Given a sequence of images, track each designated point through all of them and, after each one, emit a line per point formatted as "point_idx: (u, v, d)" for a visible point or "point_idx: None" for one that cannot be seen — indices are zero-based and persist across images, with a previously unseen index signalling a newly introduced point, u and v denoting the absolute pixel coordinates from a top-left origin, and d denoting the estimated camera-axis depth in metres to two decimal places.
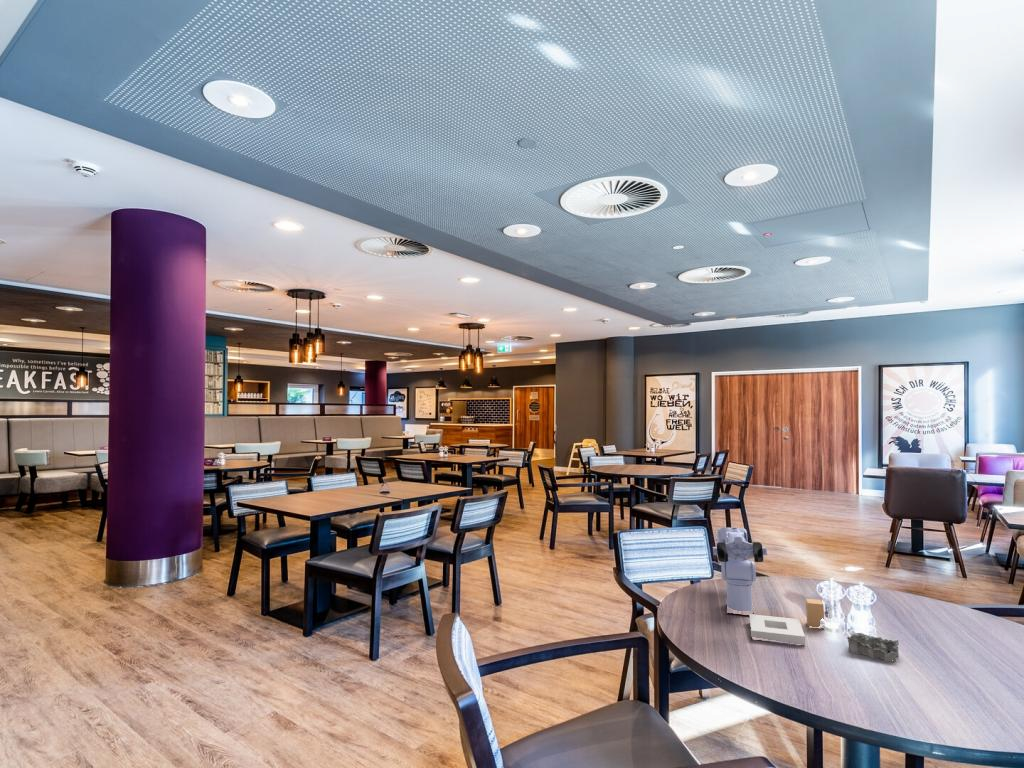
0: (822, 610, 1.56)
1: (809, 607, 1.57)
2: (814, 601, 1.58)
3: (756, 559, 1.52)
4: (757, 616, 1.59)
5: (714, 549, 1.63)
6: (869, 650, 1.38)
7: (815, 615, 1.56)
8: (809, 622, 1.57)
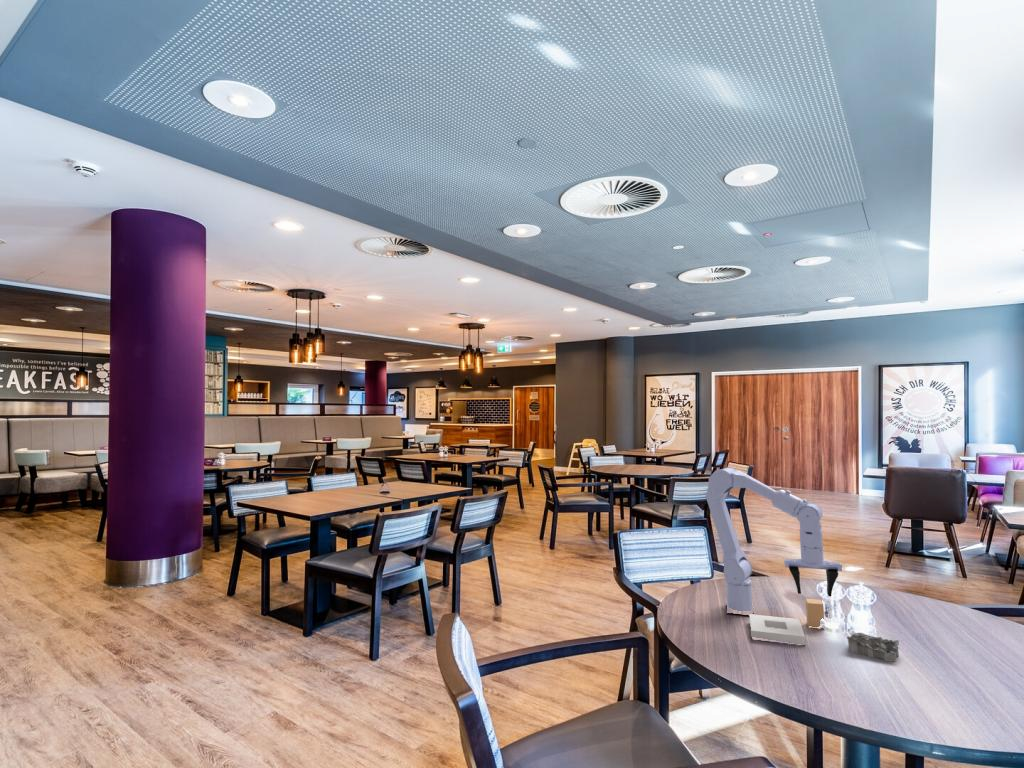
0: (822, 610, 1.56)
1: (809, 607, 1.57)
2: (814, 601, 1.58)
3: None
4: (757, 616, 1.59)
5: None
6: (869, 650, 1.38)
7: (815, 615, 1.56)
8: (809, 622, 1.57)
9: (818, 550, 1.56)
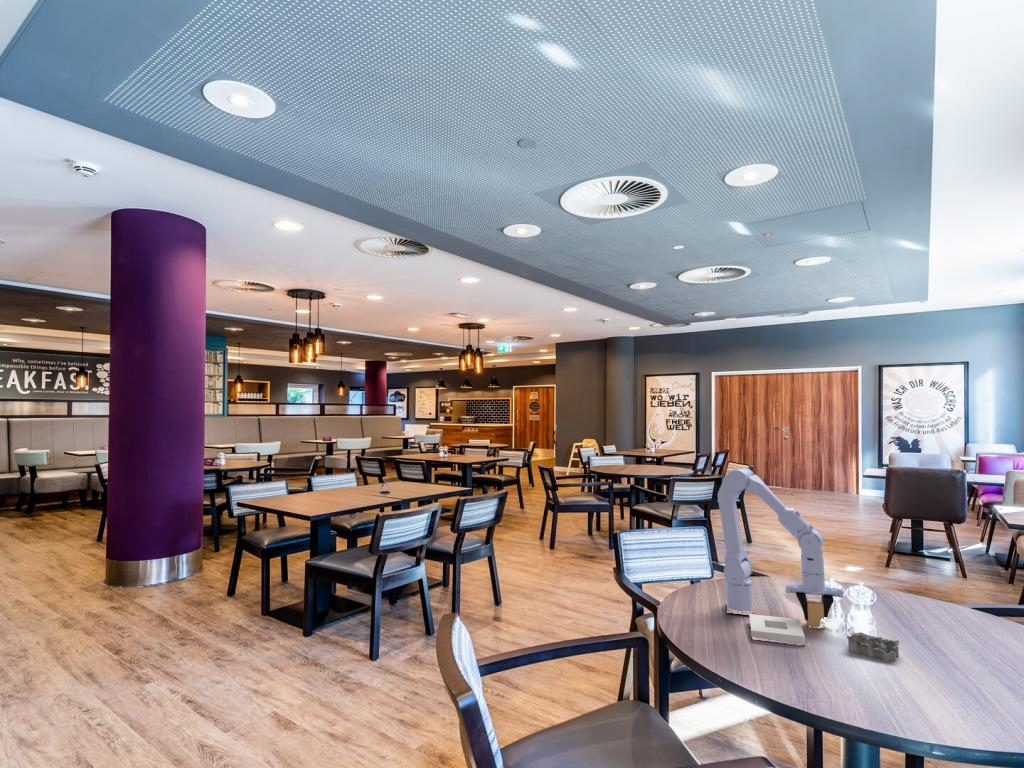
0: (822, 610, 1.56)
1: (809, 607, 1.57)
2: (814, 601, 1.58)
3: None
4: (757, 616, 1.59)
5: None
6: (868, 649, 1.38)
7: (815, 615, 1.56)
8: (809, 622, 1.57)
9: (819, 576, 1.56)
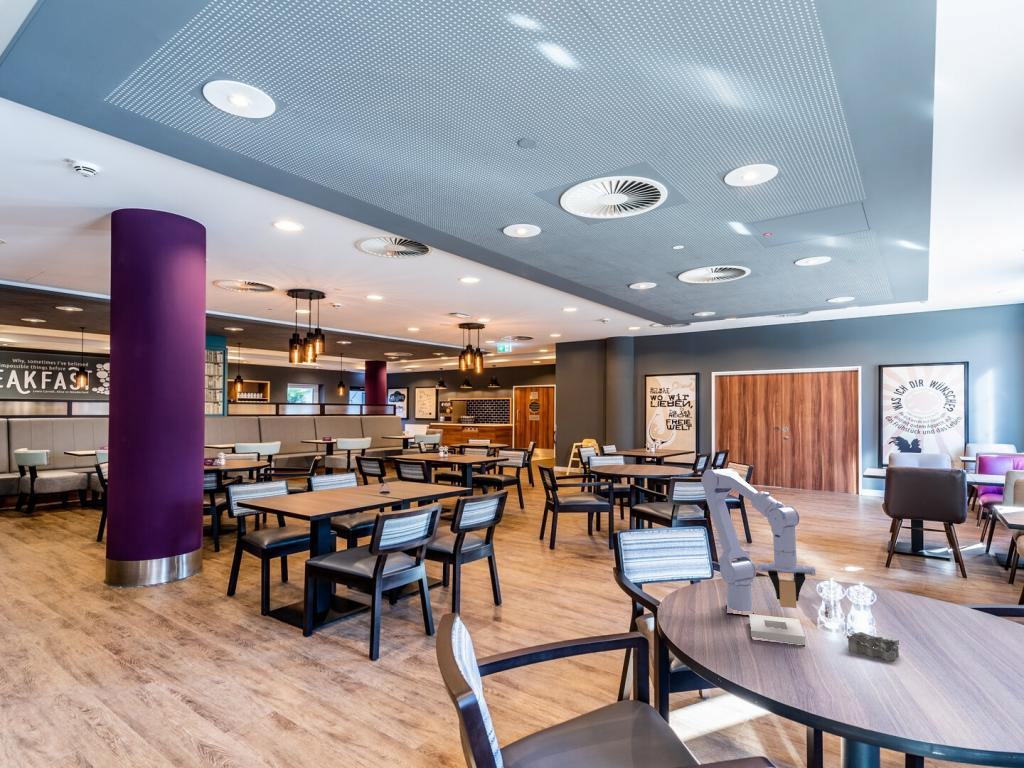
0: (794, 588, 1.53)
1: (781, 585, 1.54)
2: (786, 580, 1.55)
3: None
4: (757, 616, 1.59)
5: None
6: (868, 649, 1.38)
7: (787, 594, 1.53)
8: (781, 601, 1.54)
9: (791, 554, 1.53)
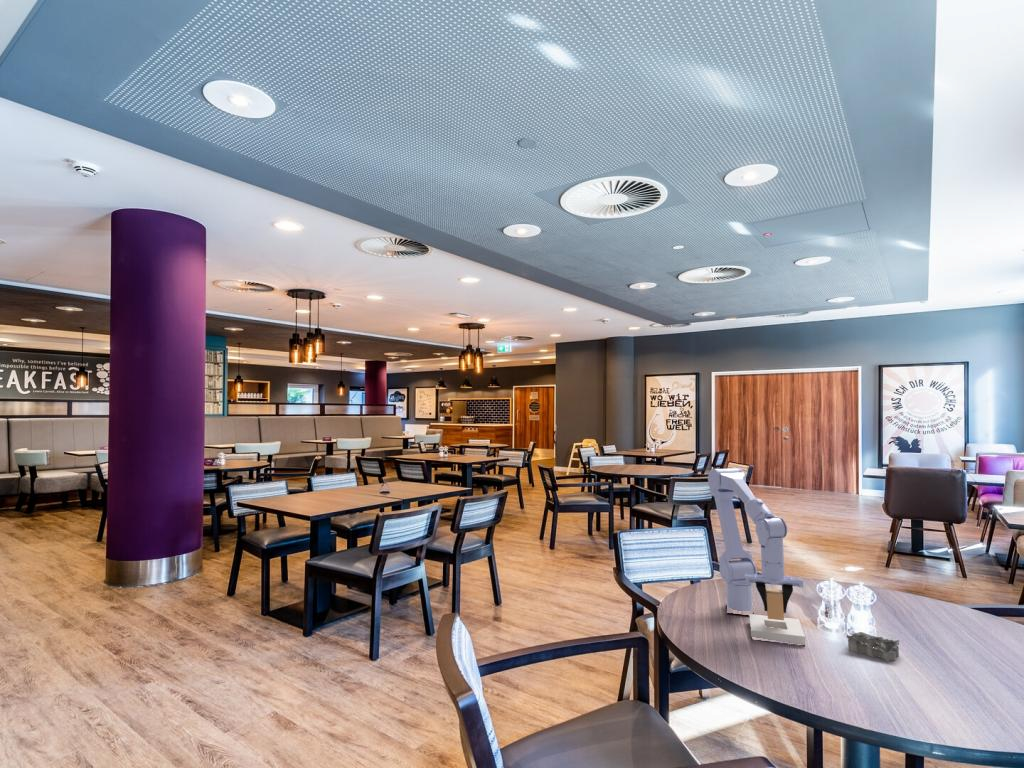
0: (781, 600, 1.51)
1: (768, 597, 1.52)
2: (774, 591, 1.53)
3: None
4: (757, 616, 1.59)
5: None
6: (868, 649, 1.38)
7: (774, 606, 1.52)
8: (768, 613, 1.52)
9: (779, 566, 1.51)
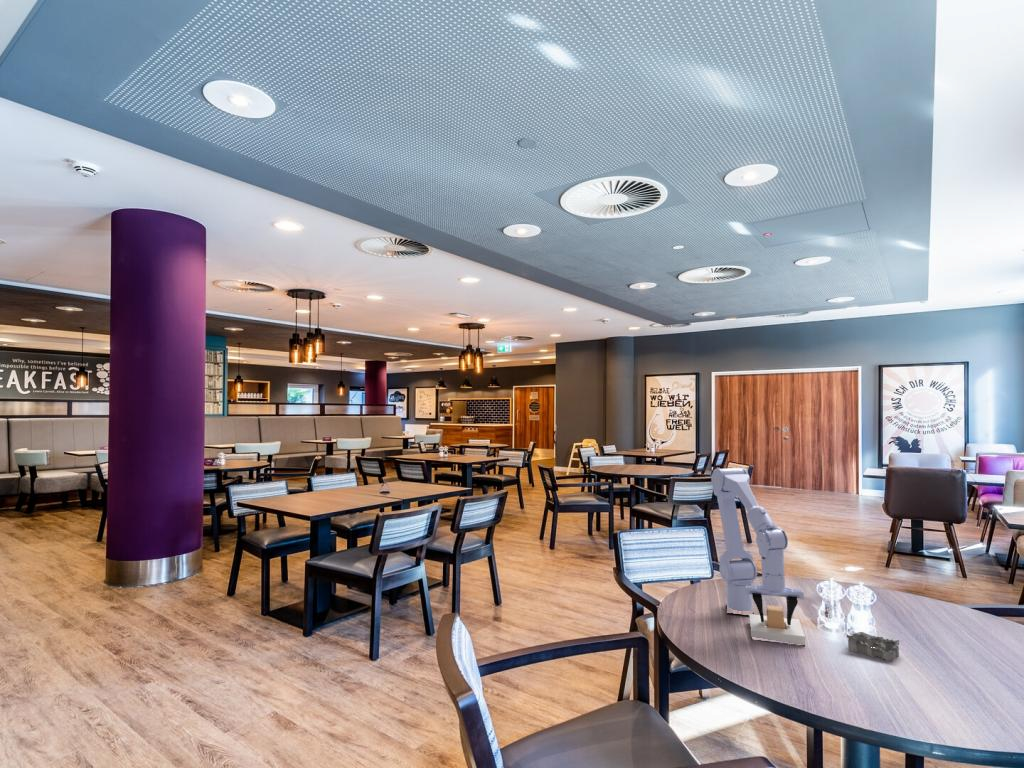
0: (782, 617, 1.51)
1: (769, 614, 1.52)
2: (775, 608, 1.53)
3: None
4: (757, 616, 1.59)
5: None
6: (868, 649, 1.38)
7: (775, 623, 1.51)
8: None
9: (779, 577, 1.51)
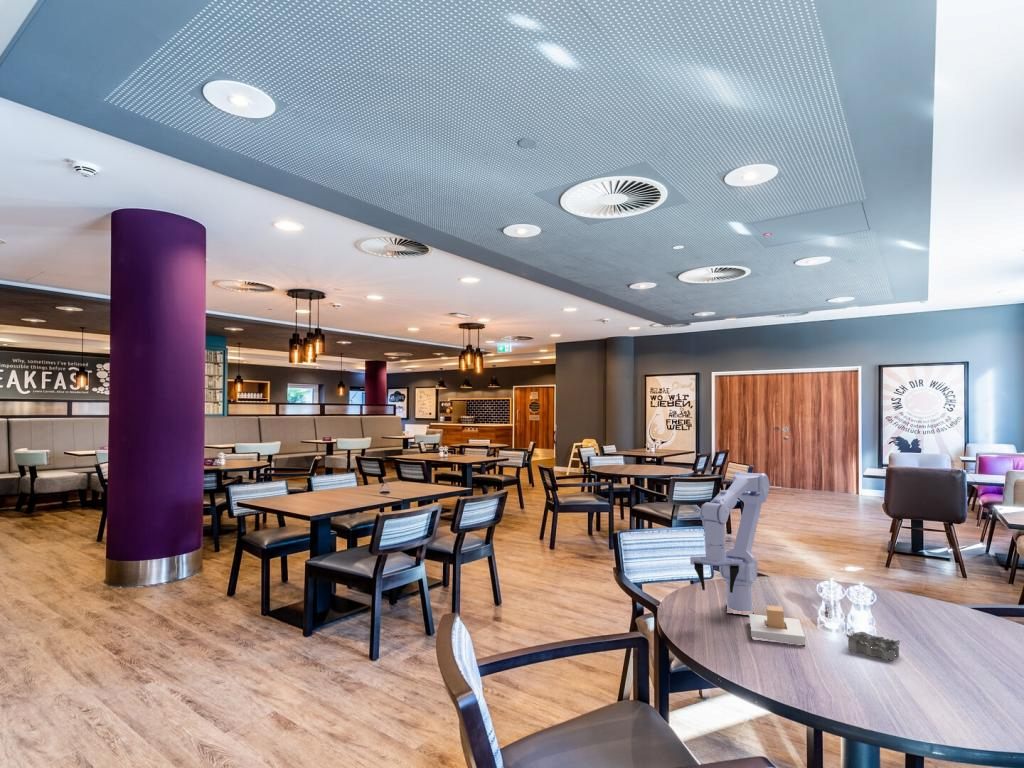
0: (782, 617, 1.51)
1: (769, 614, 1.52)
2: (775, 608, 1.53)
3: None
4: (757, 616, 1.59)
5: None
6: (867, 648, 1.39)
7: (775, 623, 1.51)
8: None
9: (720, 547, 1.61)
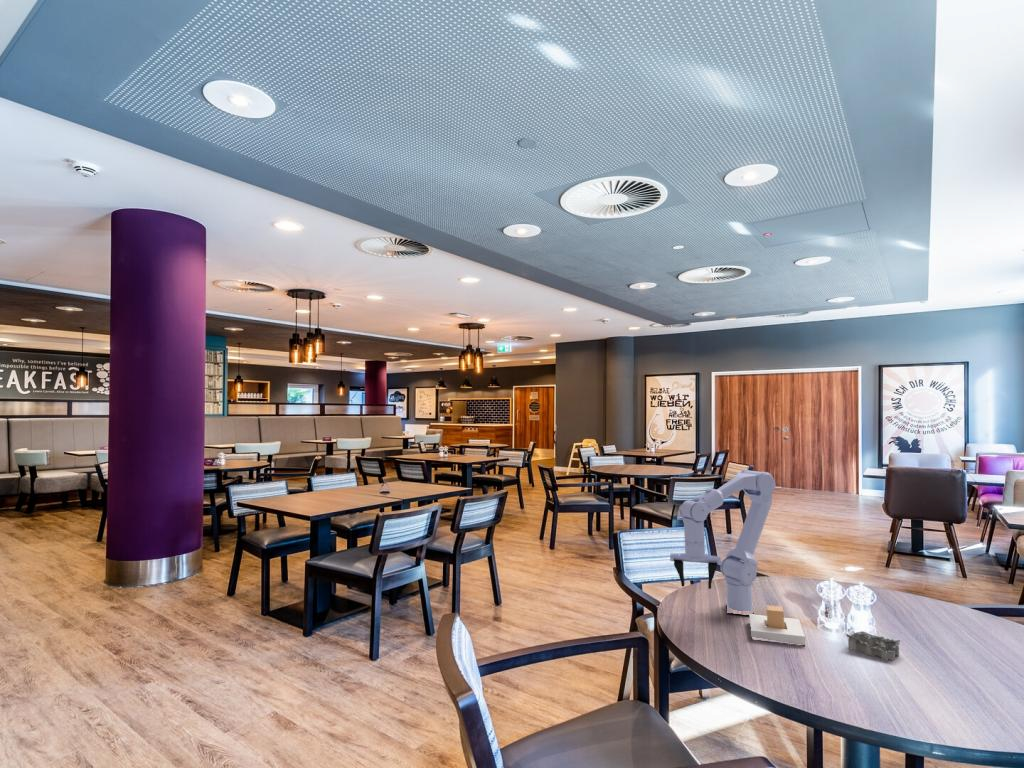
0: (782, 617, 1.51)
1: (769, 614, 1.52)
2: (775, 608, 1.53)
3: None
4: (757, 616, 1.59)
5: None
6: (867, 648, 1.39)
7: (775, 623, 1.51)
8: None
9: (699, 544, 1.64)
